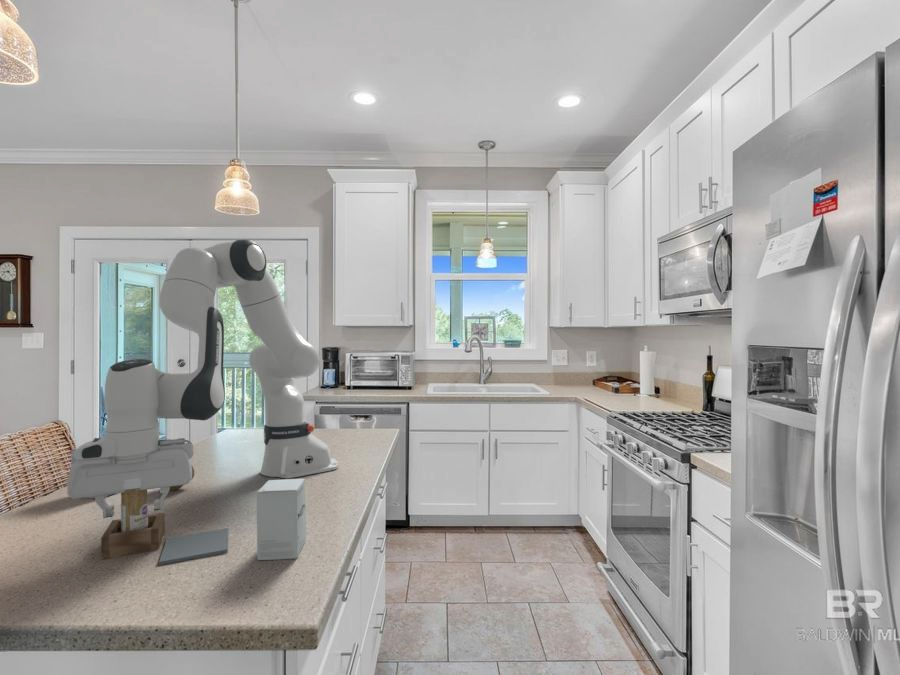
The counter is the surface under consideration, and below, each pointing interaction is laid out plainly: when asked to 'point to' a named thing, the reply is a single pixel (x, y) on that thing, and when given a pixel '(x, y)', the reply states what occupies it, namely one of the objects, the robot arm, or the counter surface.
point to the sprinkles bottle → (133, 506)
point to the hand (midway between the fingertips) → (134, 512)
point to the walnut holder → (133, 537)
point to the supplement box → (281, 519)
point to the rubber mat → (194, 546)
